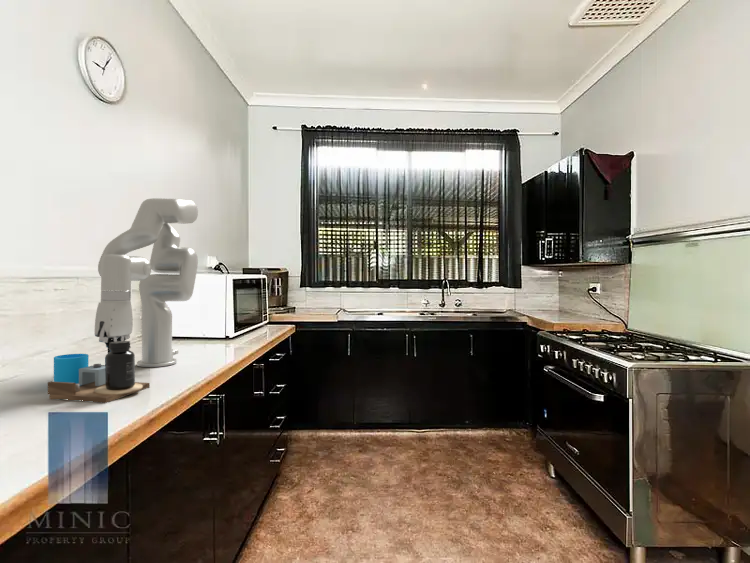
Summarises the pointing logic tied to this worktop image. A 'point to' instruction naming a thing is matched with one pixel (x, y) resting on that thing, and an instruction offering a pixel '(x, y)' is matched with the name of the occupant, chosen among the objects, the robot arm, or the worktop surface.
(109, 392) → the board
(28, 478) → the worktop surface
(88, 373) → the cover
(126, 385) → the supplement bottle
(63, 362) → the mug
